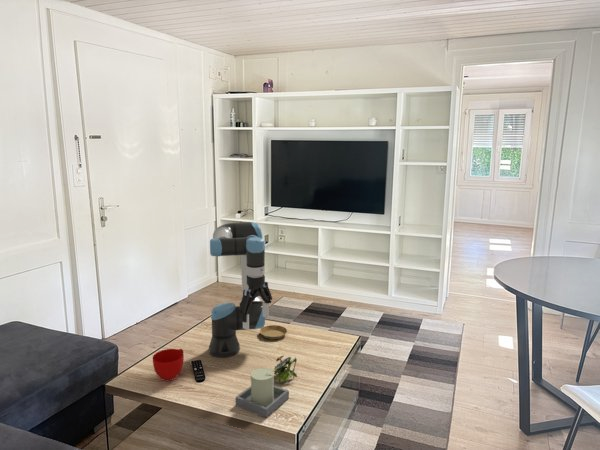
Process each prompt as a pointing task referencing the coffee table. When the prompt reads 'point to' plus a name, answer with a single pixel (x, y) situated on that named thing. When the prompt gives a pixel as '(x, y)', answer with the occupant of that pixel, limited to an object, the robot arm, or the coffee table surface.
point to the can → (262, 386)
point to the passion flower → (281, 368)
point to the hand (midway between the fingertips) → (256, 322)
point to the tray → (245, 402)
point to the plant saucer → (273, 331)
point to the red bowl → (168, 363)
